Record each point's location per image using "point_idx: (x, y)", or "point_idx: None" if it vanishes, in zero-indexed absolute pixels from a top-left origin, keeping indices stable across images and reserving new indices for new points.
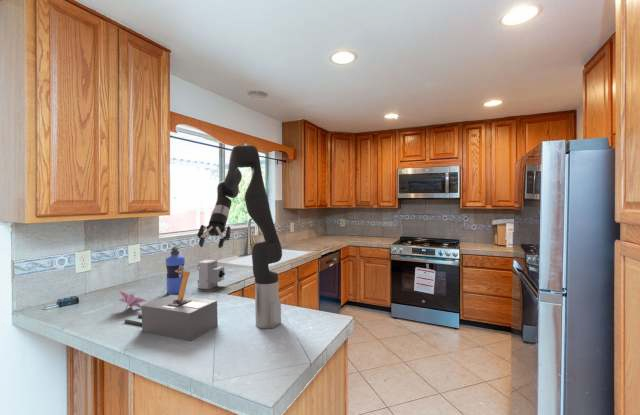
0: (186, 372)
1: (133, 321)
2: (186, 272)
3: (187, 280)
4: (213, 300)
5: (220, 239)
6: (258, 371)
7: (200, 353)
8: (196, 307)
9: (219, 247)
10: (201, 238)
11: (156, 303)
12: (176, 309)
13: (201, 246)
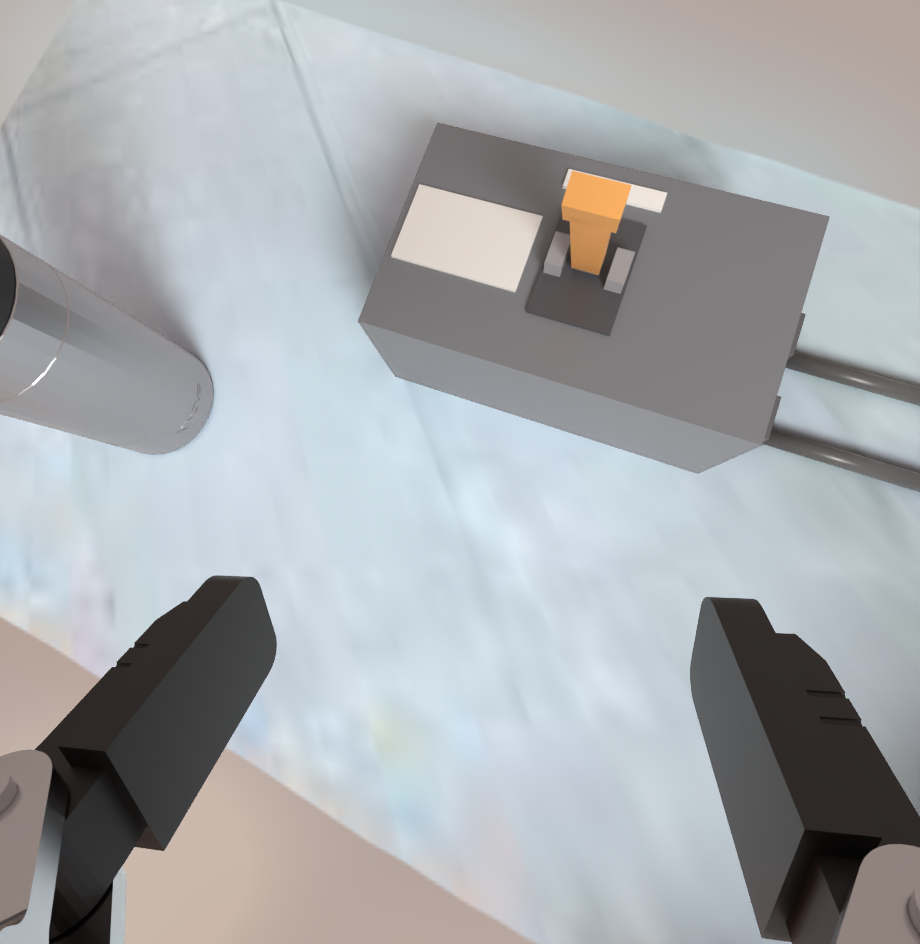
0: (370, 32)
1: (884, 378)
2: (588, 177)
3: (570, 232)
4: (382, 323)
5: (109, 727)
6: (153, 59)
7: (373, 138)
8: (435, 193)
9: (257, 617)
10: (887, 846)
11: (748, 255)
12: (546, 168)
13: (704, 646)
